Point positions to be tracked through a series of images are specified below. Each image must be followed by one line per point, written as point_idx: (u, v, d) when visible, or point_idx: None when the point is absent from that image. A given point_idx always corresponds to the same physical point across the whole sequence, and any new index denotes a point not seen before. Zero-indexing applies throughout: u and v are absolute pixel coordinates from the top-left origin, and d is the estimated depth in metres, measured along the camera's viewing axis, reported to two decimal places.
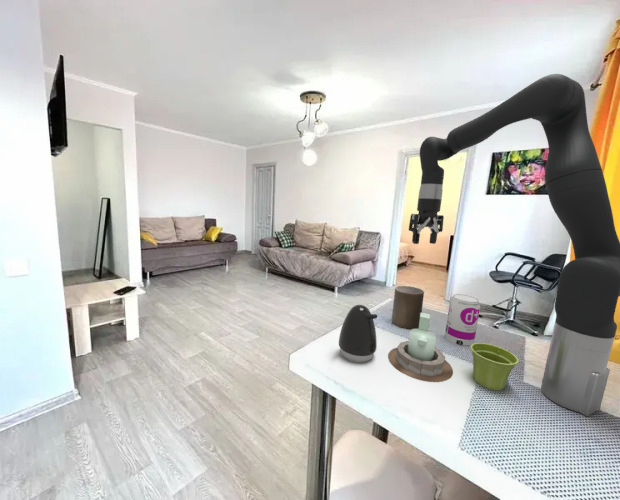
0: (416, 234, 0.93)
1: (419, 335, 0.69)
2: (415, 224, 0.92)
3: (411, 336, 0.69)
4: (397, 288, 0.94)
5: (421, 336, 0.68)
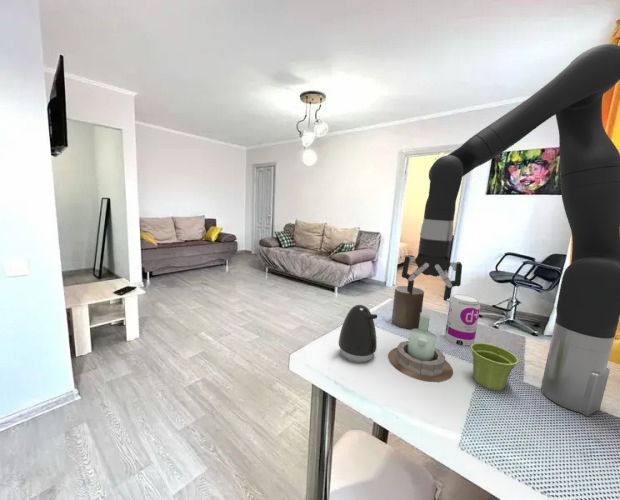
0: None
1: (419, 335, 0.69)
2: None
3: (411, 336, 0.69)
4: (397, 288, 0.94)
5: (421, 336, 0.68)
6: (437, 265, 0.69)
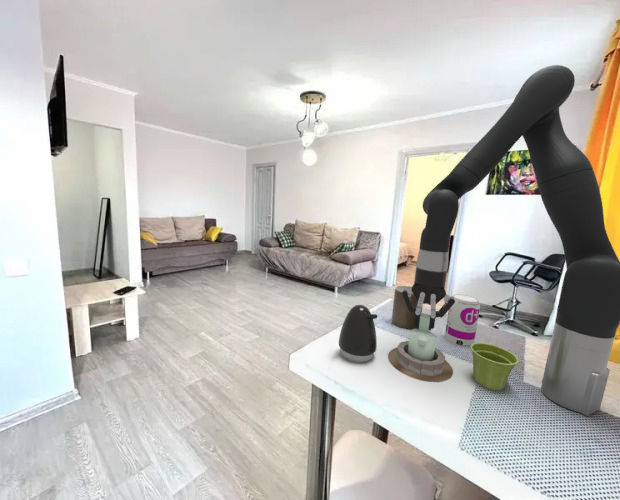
0: None
1: (419, 335, 0.69)
2: None
3: (411, 336, 0.69)
4: (397, 288, 0.94)
5: (421, 336, 0.68)
6: (433, 295, 0.70)
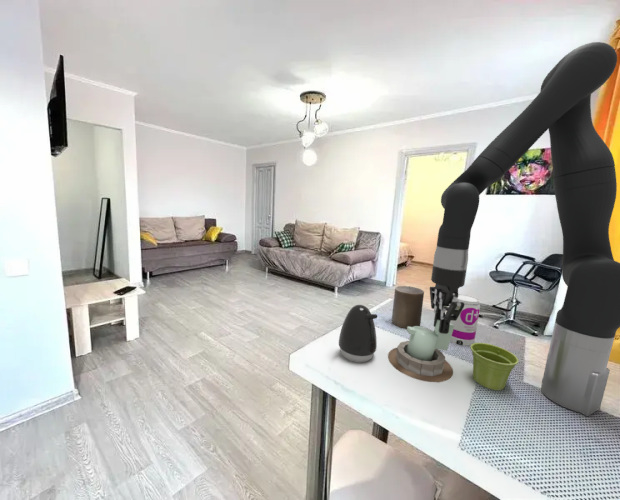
0: None
1: (419, 329, 0.71)
2: None
3: None
4: (397, 288, 0.94)
5: (418, 330, 0.70)
6: (440, 293, 0.67)
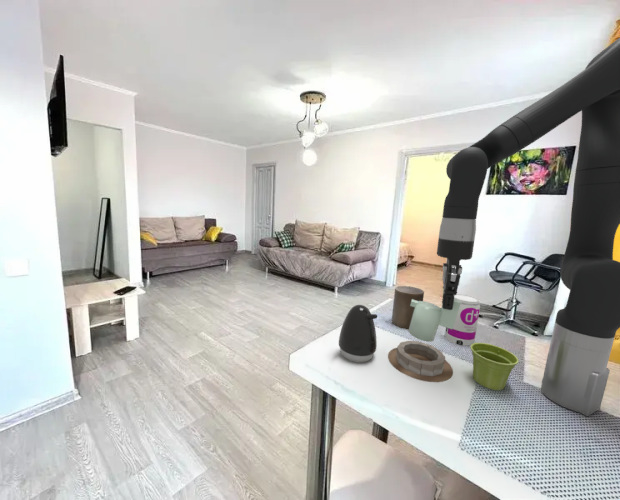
0: None
1: (424, 304, 0.69)
2: None
3: None
4: (397, 288, 0.94)
5: (422, 304, 0.69)
6: (443, 266, 0.64)
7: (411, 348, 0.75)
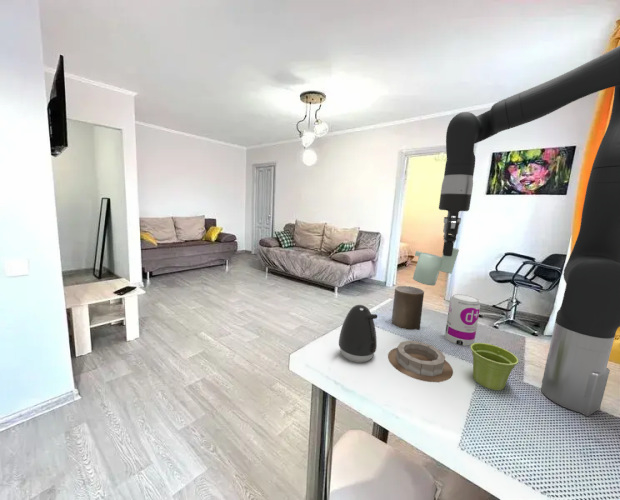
0: (451, 244, 0.73)
1: (426, 254, 0.79)
2: None
3: None
4: (397, 288, 0.94)
5: (425, 254, 0.79)
6: (444, 218, 0.74)
7: (411, 348, 0.75)
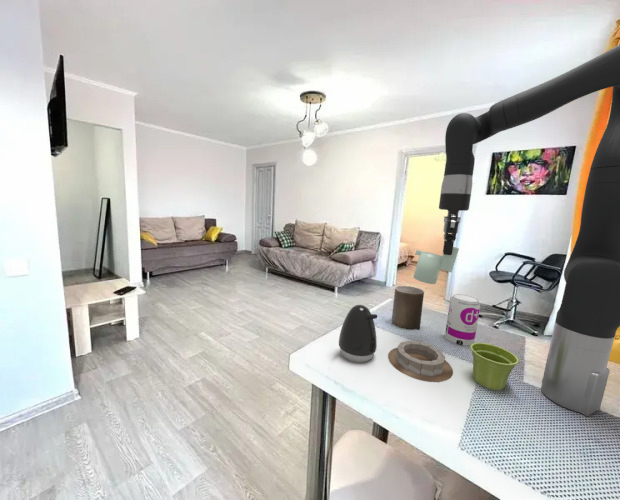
0: (451, 243, 0.74)
1: (427, 253, 0.80)
2: (456, 232, 0.71)
3: None
4: (397, 288, 0.94)
5: (426, 253, 0.80)
6: (444, 217, 0.75)
7: (411, 348, 0.75)
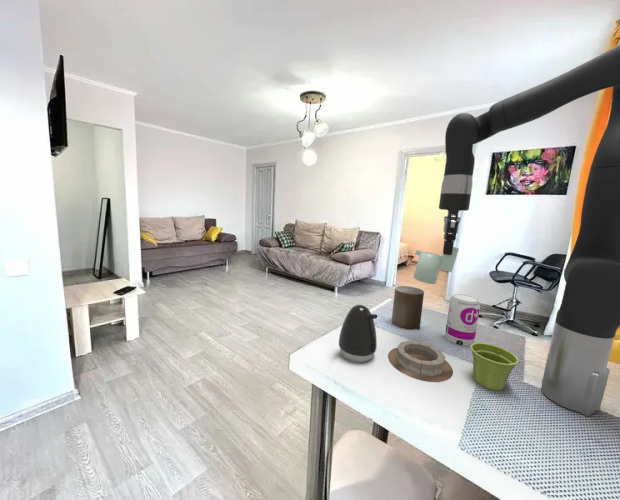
0: (451, 243, 0.74)
1: (427, 253, 0.80)
2: (456, 232, 0.71)
3: None
4: (397, 288, 0.94)
5: (426, 253, 0.80)
6: (444, 217, 0.75)
7: (411, 348, 0.75)
